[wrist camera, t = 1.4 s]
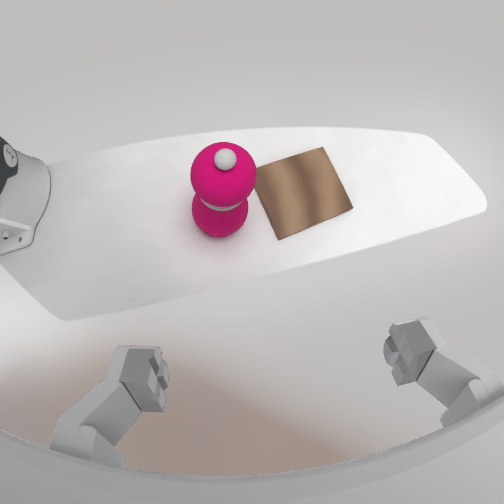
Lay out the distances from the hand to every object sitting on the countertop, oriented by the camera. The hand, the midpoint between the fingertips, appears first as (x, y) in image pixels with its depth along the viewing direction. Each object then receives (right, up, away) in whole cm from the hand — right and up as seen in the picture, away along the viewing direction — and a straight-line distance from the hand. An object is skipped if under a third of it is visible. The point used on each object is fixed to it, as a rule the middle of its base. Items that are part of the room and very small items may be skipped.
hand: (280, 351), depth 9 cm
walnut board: (+7, +13, +34) cm, 37 cm away
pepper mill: (-6, +8, +32) cm, 34 cm away
